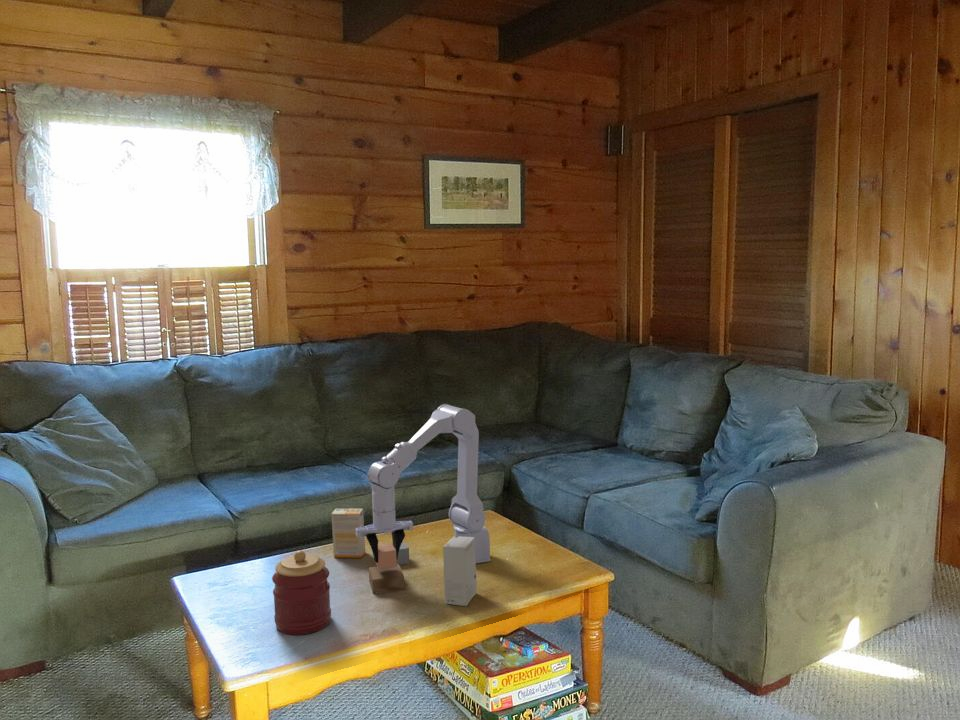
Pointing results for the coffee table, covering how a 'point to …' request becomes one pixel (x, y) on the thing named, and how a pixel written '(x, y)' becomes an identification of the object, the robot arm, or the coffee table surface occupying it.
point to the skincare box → (459, 570)
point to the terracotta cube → (386, 557)
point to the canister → (301, 594)
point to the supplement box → (347, 533)
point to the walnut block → (386, 579)
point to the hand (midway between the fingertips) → (385, 559)
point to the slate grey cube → (403, 554)
